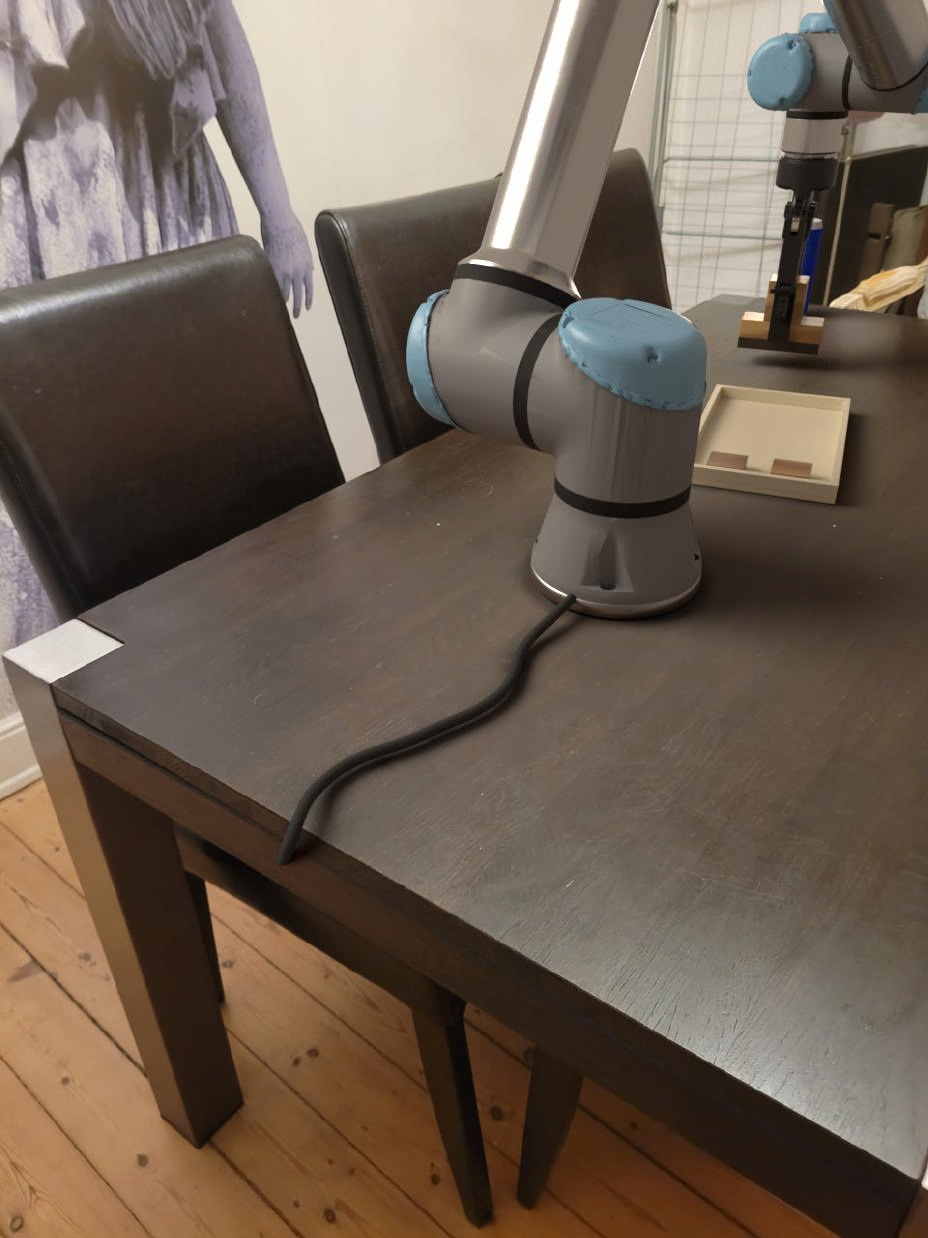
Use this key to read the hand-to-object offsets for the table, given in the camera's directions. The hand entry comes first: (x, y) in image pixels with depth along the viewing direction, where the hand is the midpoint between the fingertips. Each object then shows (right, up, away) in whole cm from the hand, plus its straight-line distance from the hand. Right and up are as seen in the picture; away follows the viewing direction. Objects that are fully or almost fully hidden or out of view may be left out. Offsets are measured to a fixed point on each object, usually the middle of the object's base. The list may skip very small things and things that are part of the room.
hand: (779, 335), depth 132 cm
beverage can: (+10, +11, +24) cm, 28 cm away
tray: (-9, -20, -23) cm, 32 cm away
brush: (0, -1, +1) cm, 2 cm away
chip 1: (-16, -24, -31) cm, 43 cm away
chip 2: (-10, -26, -33) cm, 43 cm away
